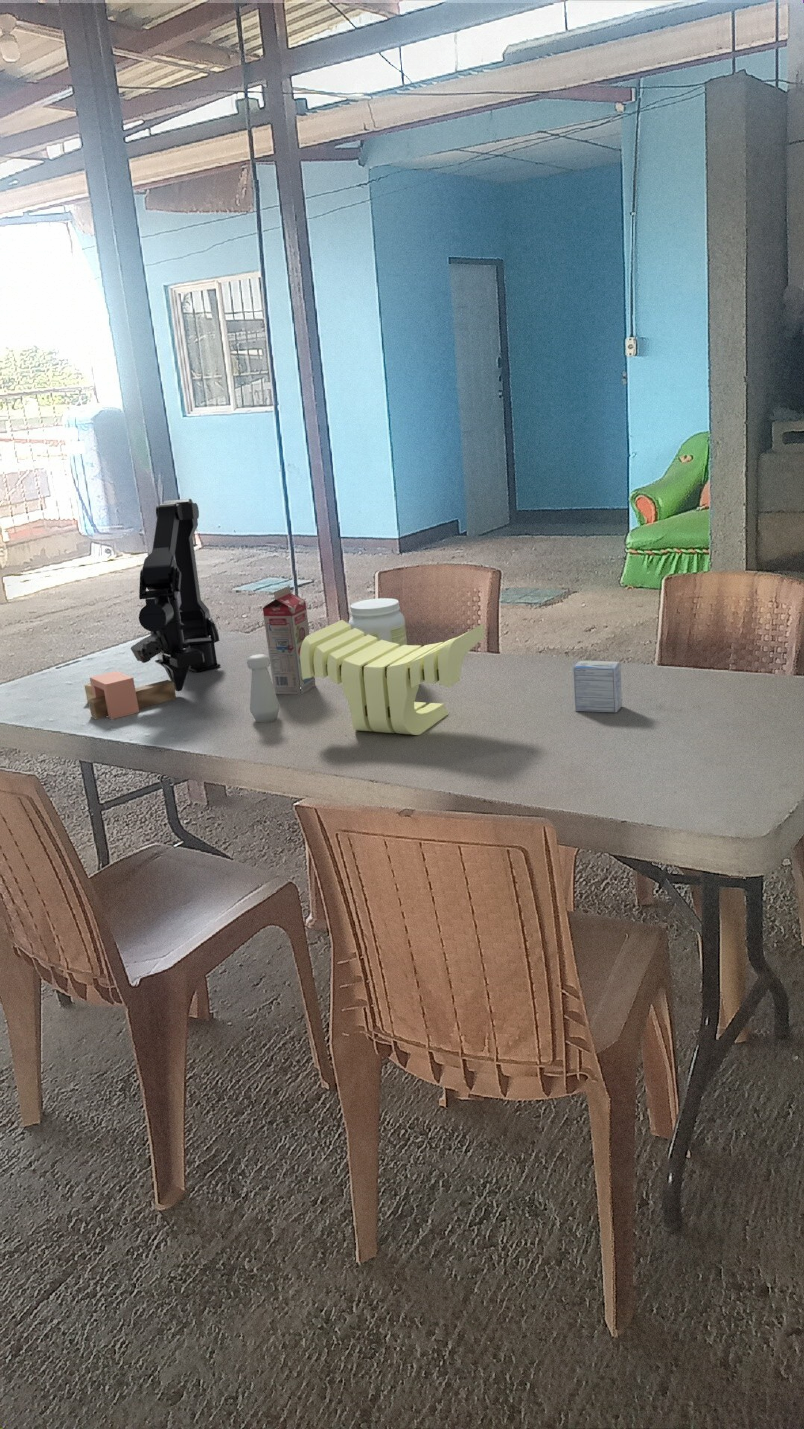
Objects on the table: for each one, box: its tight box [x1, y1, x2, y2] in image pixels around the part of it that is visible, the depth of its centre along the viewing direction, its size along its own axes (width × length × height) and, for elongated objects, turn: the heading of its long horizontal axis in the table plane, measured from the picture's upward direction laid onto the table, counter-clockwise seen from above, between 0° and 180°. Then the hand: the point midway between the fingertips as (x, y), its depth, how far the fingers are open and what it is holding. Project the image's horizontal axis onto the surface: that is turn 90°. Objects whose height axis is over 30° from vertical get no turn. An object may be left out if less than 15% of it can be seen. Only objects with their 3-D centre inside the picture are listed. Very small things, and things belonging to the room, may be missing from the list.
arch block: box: [89, 670, 140, 720], centre depth 226 cm, size 6×9×8 cm, turn 36°
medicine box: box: [572, 660, 623, 714], centre depth 198 cm, size 8×4×9 cm, turn 65°
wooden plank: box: [88, 679, 177, 720], centre depth 229 cm, size 18×3×4 cm, turn 127°
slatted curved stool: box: [300, 619, 485, 736], centre depth 199 cm, size 30×16×18 cm, turn 63°
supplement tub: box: [347, 597, 408, 647], centre depth 230 cm, size 12×12×17 cm
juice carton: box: [262, 585, 316, 695], centre depth 228 cm, size 7×7×22 cm
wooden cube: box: [84, 682, 93, 704], centre depth 237 cm, size 4×4×4 cm
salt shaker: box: [246, 653, 280, 724], centre depth 210 cm, size 6×6×13 cm
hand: (178, 690), depth 235 cm, fingers closed
